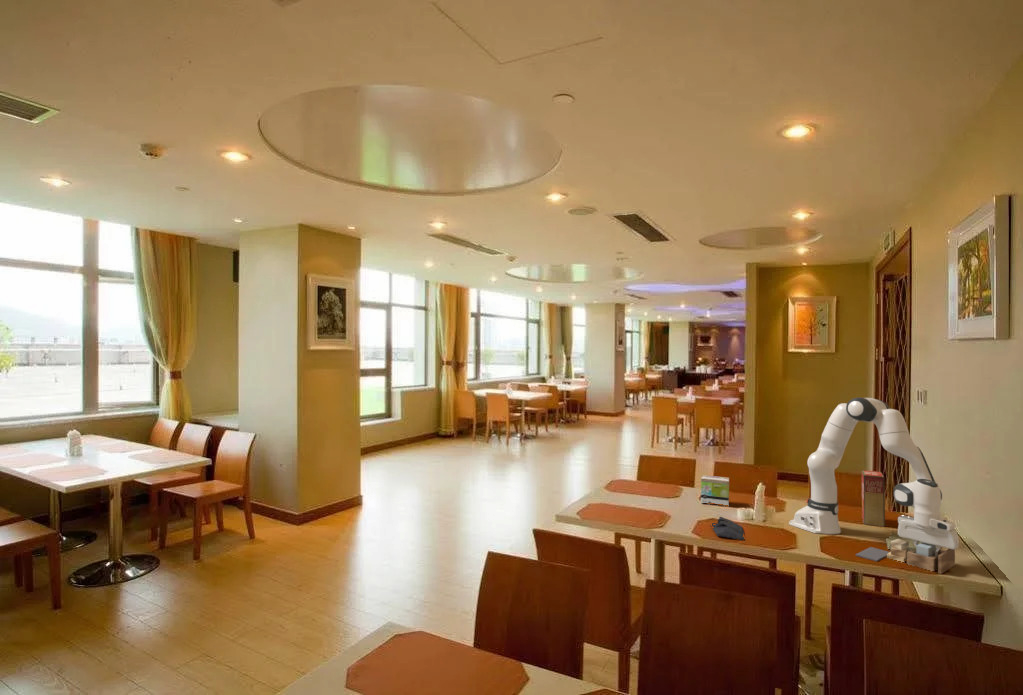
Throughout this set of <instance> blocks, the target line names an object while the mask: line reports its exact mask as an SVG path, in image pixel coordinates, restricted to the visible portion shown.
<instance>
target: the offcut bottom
mask: <svg viewBox="0 0 1023 695" xmlns="http://www.w3.org/2000/svg"><path fill="white" fill-rule="evenodd" d="M888 552H889V553H888V554H887V556H886V559H887V558H889V559H888V560H890V559H893V560H892V561H894V560H897V561H896V562H898V561H901V562H900V563H902V562H904V563H905V561H906V560H907V556H906V558H905V557H900V556H896V555H891V551H888ZM906 562H907V561H906Z"/></svg>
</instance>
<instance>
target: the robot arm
mask: <svg viewBox="0 0 1023 695" xmlns="http://www.w3.org/2000/svg"><path fill="white" fill-rule="evenodd" d="M905 420H906V419H905V418H904V416H903V414H902V413H901V412H900V411H899V410H898V409H893V408H890V406H889V405H888V404H887V403H886V402H885V401H883V400H881V399H877V398H873V397H861V396H859V397H854V398H851V399H850V400H849V401H848V402H847V403H844V402H843V403H842V402H841V403H839V404H838V405H837V406H836V407H835V408H834V410H833V411H832V413H831V414H830V416H829V418H828V420H827V422H826V425H825V426H824V429H823V431H822V433H821V437H820V441H819V444H818V447H817V449H816V450H815V452H811V454H810V455H809V456H808V458H807V467H808V472H809V477H810V498H808V499H806V500H805V503H806V504H807V505H805V506H803V507H802V508H799V509H798V510H796V512H795V513H794V516H793V519H791V520H789V522H788V525H790V526H792V527H795V528H797V529H801V530H805V531H806V532H811V533H813V534H826V535H827V534H828V535H838V534H840V533H842V529H841V528H840V523H839V516H838V514H839V502H838V485H837V482H836V481H837V480H836V476H835V469H838V467H839V466H840V463H841V461H842V458H843V456H844V453H845V450H846V447H847V445H848V442H849V440H850V439H851V436H852V434H853V432H854V429H855V427H856V426H857V424H858V422H865V423H873V424H874V425H875V426H876V429H877V432H878V437H879V440H880V444H881V446H882V447H883V449H884V450H885V451H886V452H888V453H890V454H892V455H893V456H896V457H900V458H902V459H904V460H906V461H907V462H908V463H909V464H910V467H911V468H912V470H913V474H914V475H915V477H916V480H914V481H911V482H902V483H898V484H896V485H895V486H894V488H893V492H892V494H893V498H894V500H895V501H896V503H898V505H900V506H902V507H903V506H904V507H910V508H911V507H912V508H913V516H909V515H905V514H902V515H899V516H898V517H897V523H898V527H897V533H898V535H899V536H900V537H903V538H907V539H911V540H913V543H914V545H915V546H917V545H919V544H918V542H919V541H920V542H924V543H928V544H932V545H936V548H937V550H936V551H932V553H933V554H932V555H933V556H938V552H939V550H940V549H943V548H945V549H953V550H955V551H956V550H957V549H958V548H959V546H960V541H959V540H960V539H959V535H958V532H957V530H956V529H955V528H956V523H955V522H953V521H951V520H949V519H947V518H944V517H942V513H941V511H940V510H941V508H940V507H941V504H942V500H943V493H942V490H941V489H940V485H939V484H938V483H937V481H936V480H935V479H934V476H933V474H932V472H931V468H930V466H929V465H928V462H927V460H926V458H925V455H924V453H923V452H922V450H921V449H920V447H919V446H917V445H916V444H915V442H914V441H913V439H912V437H911V435H910V431H909V429H908V426H907V423H906V421H905Z"/></svg>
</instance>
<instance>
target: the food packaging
mask: <svg viewBox="0 0 1023 695" xmlns="http://www.w3.org/2000/svg"><path fill="white" fill-rule="evenodd" d="M885 478H886V477H885V476H884V475H883V472H882V471H874V470H861V519H863V520H862V523H863V525H867V526H874V527H880V528H885V527H886V509H885V508H886V507H885V505H886V504H885V503H886V502H885V501H886V498H885V496H886V495H885V494H886V493H885Z"/></svg>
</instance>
